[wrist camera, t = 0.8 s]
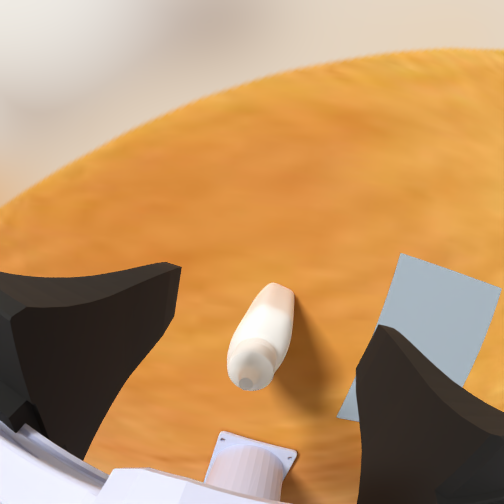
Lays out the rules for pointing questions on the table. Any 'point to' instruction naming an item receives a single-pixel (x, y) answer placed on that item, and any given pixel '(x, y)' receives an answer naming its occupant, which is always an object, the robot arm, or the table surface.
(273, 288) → the eye dropper bottle
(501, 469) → the robot arm
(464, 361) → the mat
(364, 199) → the table surface
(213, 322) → the table surface
